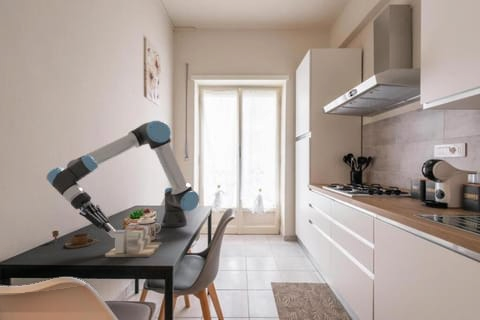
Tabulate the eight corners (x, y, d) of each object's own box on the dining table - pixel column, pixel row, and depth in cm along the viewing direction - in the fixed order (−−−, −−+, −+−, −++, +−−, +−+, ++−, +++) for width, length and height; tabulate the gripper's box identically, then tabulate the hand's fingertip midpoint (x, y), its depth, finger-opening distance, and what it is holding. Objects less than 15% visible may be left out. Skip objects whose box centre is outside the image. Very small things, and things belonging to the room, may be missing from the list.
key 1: (118, 250, 116) (118, 229, 116) (127, 250, 116) (127, 229, 116) (114, 253, 113) (114, 231, 113) (123, 253, 113) (123, 231, 113)
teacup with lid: (139, 243, 132) (139, 218, 132) (134, 238, 139) (134, 215, 139) (163, 239, 138) (163, 215, 139) (157, 235, 146) (157, 213, 146)
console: (123, 244, 129) (123, 223, 129) (161, 244, 129) (161, 223, 129) (105, 256, 112) (105, 232, 112) (149, 256, 112) (149, 232, 112)
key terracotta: (128, 245, 123) (128, 226, 123) (136, 246, 122) (136, 226, 123) (124, 248, 119) (124, 228, 119) (133, 248, 119) (133, 228, 119)
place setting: (61, 253, 119) (61, 239, 119) (49, 243, 133) (49, 231, 133) (103, 244, 132) (104, 232, 132) (89, 236, 145) (89, 225, 146)
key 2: (130, 241, 129) (130, 223, 129) (138, 241, 129) (138, 223, 129) (127, 243, 126) (127, 224, 126) (135, 243, 126) (135, 224, 126)
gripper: (80, 201, 127) (116, 237, 127) (62, 205, 114) (102, 246, 114) (91, 189, 128) (127, 226, 127) (75, 192, 114) (115, 233, 114)
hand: (115, 235), depth 121 cm, fingers closed
